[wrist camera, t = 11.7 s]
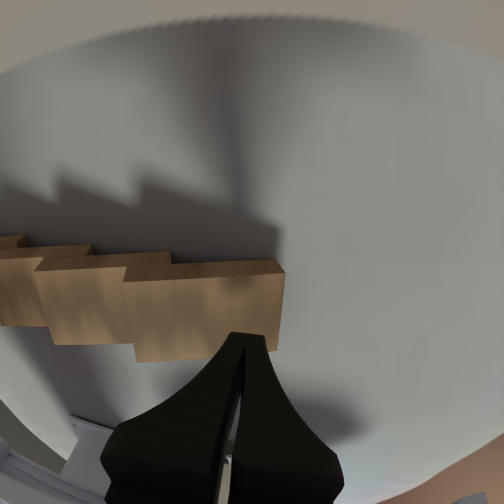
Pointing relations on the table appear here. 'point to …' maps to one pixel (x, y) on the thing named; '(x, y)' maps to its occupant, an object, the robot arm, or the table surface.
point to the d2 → (89, 296)
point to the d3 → (28, 282)
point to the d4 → (14, 241)
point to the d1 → (201, 306)
